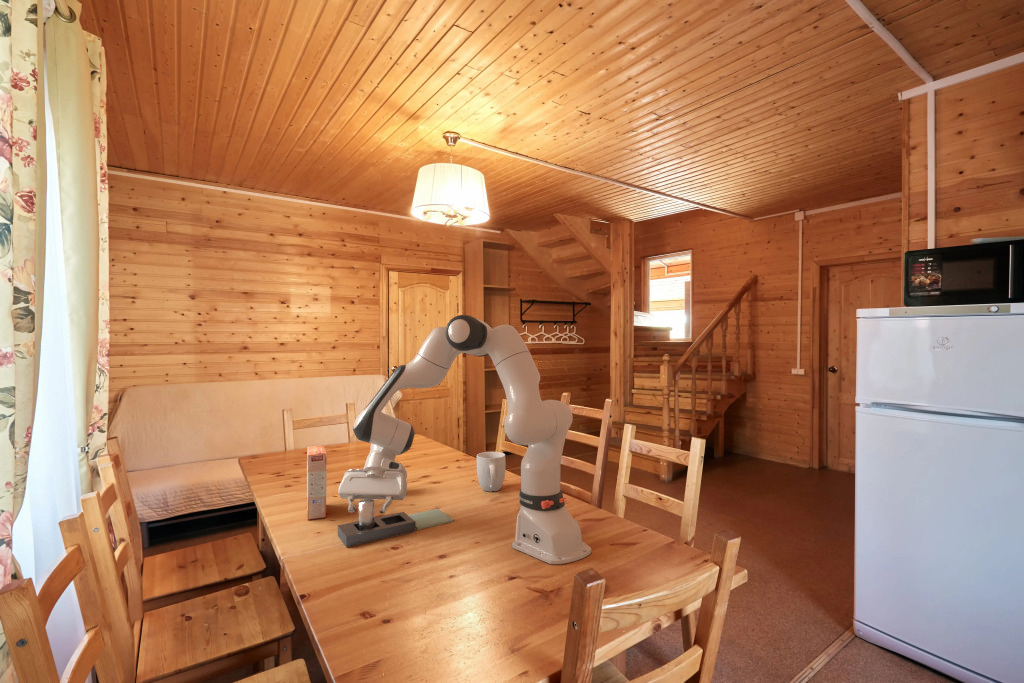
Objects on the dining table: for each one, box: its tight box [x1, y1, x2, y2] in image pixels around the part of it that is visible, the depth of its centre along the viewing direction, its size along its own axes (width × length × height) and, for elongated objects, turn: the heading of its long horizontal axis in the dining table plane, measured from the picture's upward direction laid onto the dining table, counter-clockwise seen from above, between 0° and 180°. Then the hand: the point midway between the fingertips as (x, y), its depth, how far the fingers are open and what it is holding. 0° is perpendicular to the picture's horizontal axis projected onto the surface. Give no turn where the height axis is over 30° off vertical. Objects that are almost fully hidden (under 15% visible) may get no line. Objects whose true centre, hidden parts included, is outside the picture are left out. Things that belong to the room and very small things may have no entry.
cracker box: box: [306, 445, 327, 520], centre depth 162 cm, size 14×6×21 cm, turn 23°
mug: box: [476, 451, 507, 493], centre depth 183 cm, size 15×11×13 cm
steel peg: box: [358, 499, 375, 531], centre depth 142 cm, size 4×4×10 cm
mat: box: [407, 508, 455, 531], centre depth 154 cm, size 12×12×1 cm
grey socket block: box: [337, 511, 417, 548], centre depth 144 cm, size 10×20×3 cm, turn 123°
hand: (366, 512), depth 142 cm, fingers open, 8 cm apart
